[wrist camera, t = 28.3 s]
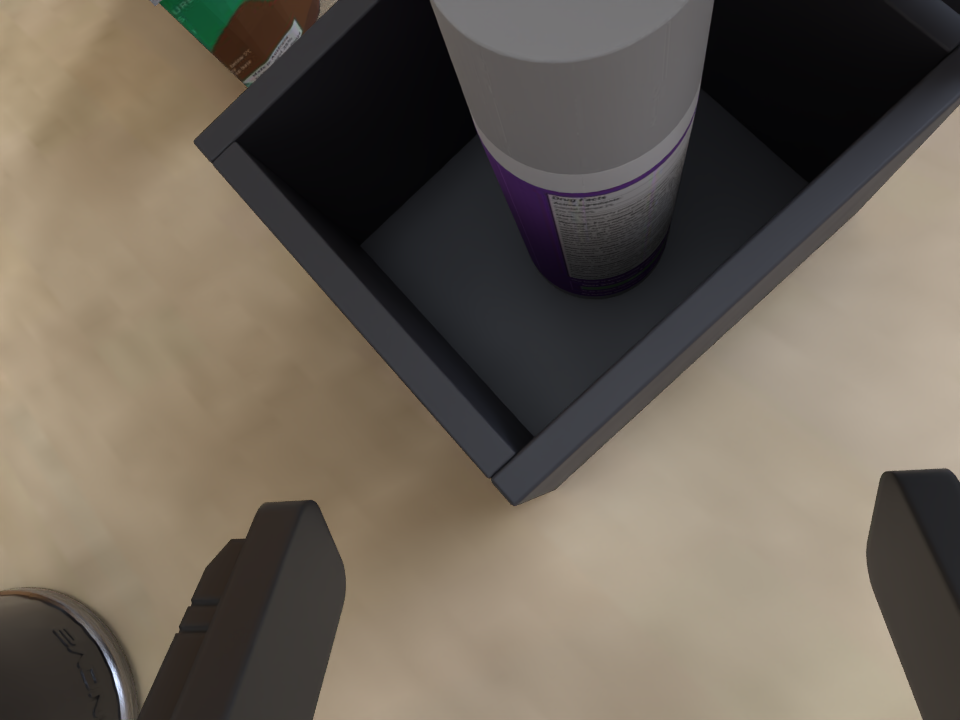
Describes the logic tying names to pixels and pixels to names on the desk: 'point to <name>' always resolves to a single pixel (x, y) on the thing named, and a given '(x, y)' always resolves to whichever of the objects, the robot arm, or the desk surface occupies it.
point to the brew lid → (953, 5)
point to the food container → (245, 29)
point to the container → (583, 124)
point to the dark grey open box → (497, 240)
